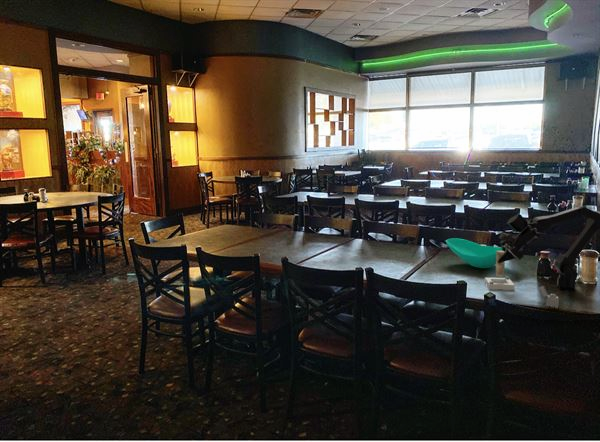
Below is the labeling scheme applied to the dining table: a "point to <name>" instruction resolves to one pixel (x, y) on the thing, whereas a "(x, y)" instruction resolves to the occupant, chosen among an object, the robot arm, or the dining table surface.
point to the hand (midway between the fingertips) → (497, 261)
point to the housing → (500, 283)
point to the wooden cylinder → (499, 264)
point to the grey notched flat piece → (550, 298)
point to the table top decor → (474, 252)
